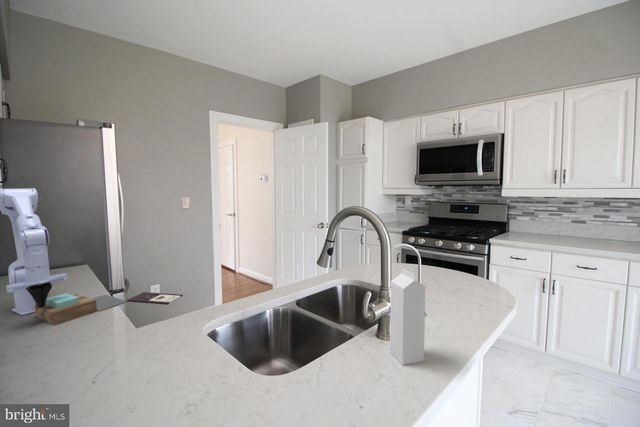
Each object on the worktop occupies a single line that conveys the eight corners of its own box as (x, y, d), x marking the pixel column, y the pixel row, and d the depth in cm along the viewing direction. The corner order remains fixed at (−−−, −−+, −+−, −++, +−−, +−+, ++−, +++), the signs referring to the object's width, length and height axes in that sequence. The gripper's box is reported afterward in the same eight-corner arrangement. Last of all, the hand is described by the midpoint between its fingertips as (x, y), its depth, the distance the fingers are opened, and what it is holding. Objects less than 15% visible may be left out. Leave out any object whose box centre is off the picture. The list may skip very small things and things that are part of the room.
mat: (77, 303, 115) (77, 302, 115) (105, 295, 123) (105, 294, 123) (99, 311, 107) (99, 310, 107) (127, 302, 115) (127, 301, 115)
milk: (402, 365, 72) (403, 275, 70) (389, 352, 78) (390, 268, 76) (424, 361, 74) (425, 273, 72) (410, 348, 80) (411, 266, 78)
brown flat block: (36, 316, 103) (34, 305, 103) (77, 304, 114) (76, 294, 114) (54, 325, 97) (53, 312, 96) (97, 311, 107) (96, 300, 107)
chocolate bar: (143, 292, 125) (182, 294, 121) (144, 294, 125) (182, 296, 121) (125, 300, 116) (167, 303, 112) (126, 302, 116) (167, 305, 112)
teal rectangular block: (45, 304, 104) (45, 298, 103) (66, 298, 109) (66, 293, 109) (57, 309, 99) (57, 303, 99) (79, 302, 105) (78, 297, 104)
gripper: (10, 273, 90) (15, 317, 91) (69, 262, 102) (73, 301, 103) (2, 270, 93) (6, 313, 94) (60, 260, 106) (63, 298, 107)
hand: (41, 307), depth 99 cm, fingers closed
